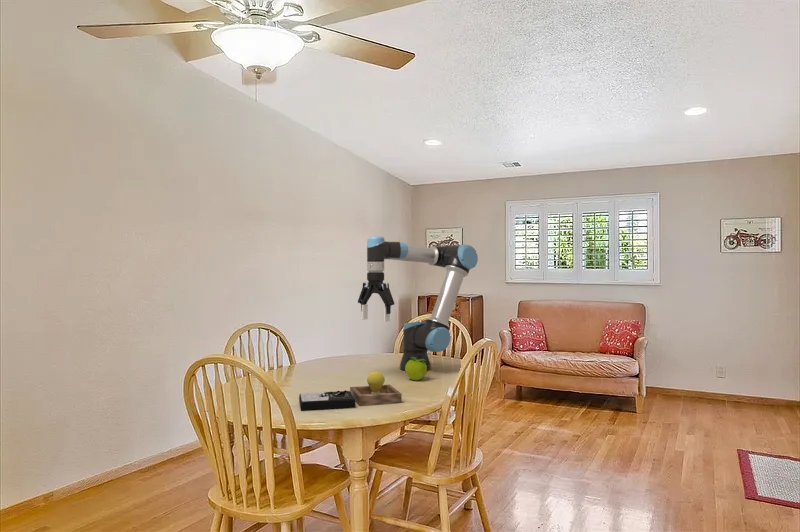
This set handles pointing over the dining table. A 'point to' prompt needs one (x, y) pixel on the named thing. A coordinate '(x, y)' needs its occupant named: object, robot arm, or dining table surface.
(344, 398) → the multimeter
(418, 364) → the fruit
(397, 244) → the robot arm
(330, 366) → the dining table surface
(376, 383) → the light bulb
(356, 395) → the tray
